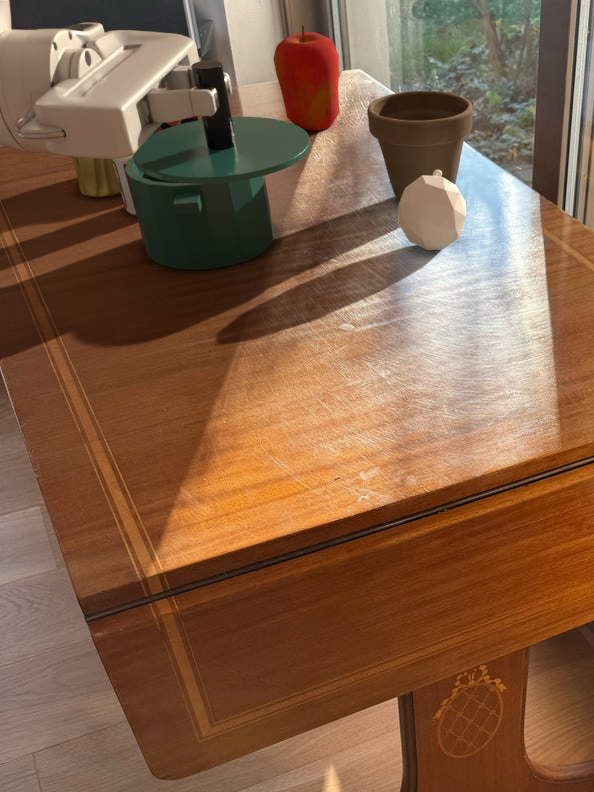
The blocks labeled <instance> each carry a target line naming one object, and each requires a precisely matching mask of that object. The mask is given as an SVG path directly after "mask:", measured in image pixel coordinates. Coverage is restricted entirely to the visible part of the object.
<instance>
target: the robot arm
mask: <svg viewBox="0 0 594 792" xmlns="http://www.w3.org/2000/svg"><path fill="white" fill-rule="evenodd" d="M12 14H13V13H12V5H11V0H0V149H2V148H9V149H14V150H18V151H21V152H24V153H30V154H31V153H33V154H53V155H59V156H62V157H63V156H64V157H71V158H72V157H85V158H101V159H118V158H124V157H127V156H131V155H133V154H134V153H135V152H136V151H137V150H138V149H139V148H140V147H141V146H142V145H143V144H144V143H145V142H146V140H147V139H148V138H149V137H150V136H151V135H152V134H153V133H154V132H155V131H156V130H157V129H158V128H159V127H160V126H161V124H162V123H163V122H167V123H170V122H174V121H178V120H182V119H186V118H190V117H194V116H198V117H201V116H212V115H214V114H215V113H216V111H217V110H218V108H219V106H220V105H219V100H218V94H217V91H216V89H215V88H214V87H212V86H206V87H204V86H195V82H194V77H193V72H192V68H191V66H192V64H194V63H196V62H200V57H199V52H198V48H197V44H196V41H195V40H194V39H193V38H190V37H188V36H185V35H183V34H178V33H172V32H161V31H160V32H159V31H145V30H133V29H132V30H131V29H130V30H129V29H118V30H109V31H105V29H104V26H103V24H101V23H100V22H81V23H77V24H72V25H69V26H65V27H62V28H38V29H13V18H12V17H13V15H12ZM223 72H224V78H225V83H226V89H227V94H228V98H230V96H231V95H232V93H233V88H232V82H231V77H230V75H229V74H228V73H227V72H226V71H223Z"/></svg>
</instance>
